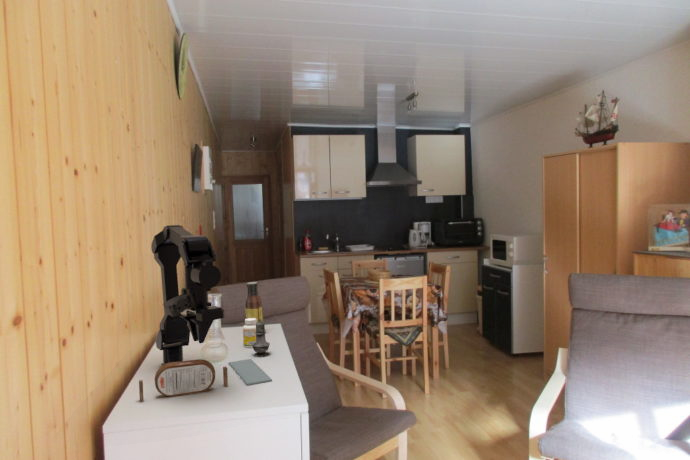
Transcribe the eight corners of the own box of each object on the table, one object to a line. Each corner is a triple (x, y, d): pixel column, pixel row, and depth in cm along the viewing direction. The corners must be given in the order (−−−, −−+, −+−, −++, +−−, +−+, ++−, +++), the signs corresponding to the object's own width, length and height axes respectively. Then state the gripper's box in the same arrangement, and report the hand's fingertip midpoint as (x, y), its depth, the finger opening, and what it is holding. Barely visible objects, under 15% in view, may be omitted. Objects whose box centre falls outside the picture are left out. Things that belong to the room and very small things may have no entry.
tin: (215, 387, 131) (214, 356, 131) (216, 391, 128) (215, 359, 128) (155, 395, 126) (154, 363, 126) (154, 400, 123) (153, 367, 123)
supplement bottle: (251, 349, 167) (250, 321, 167) (240, 347, 170) (239, 319, 170) (262, 345, 171) (261, 318, 171) (251, 343, 175) (250, 316, 174)
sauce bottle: (258, 331, 193) (256, 280, 192) (266, 333, 188) (264, 282, 188) (243, 334, 189) (241, 282, 188) (251, 336, 184) (249, 284, 183)
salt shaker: (257, 358, 156) (256, 321, 155) (248, 355, 160) (247, 318, 160) (273, 355, 160) (272, 318, 159) (264, 351, 164) (263, 315, 164)
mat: (228, 363, 151) (228, 362, 151) (250, 360, 154) (250, 358, 154) (246, 385, 132) (246, 383, 132) (272, 381, 135) (272, 379, 135)
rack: (139, 400, 123) (138, 380, 123) (226, 384, 133) (225, 366, 133) (140, 402, 122) (139, 382, 122) (227, 386, 132) (227, 367, 131)
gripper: (152, 284, 131) (154, 341, 132) (182, 291, 118) (185, 355, 118) (191, 279, 139) (193, 334, 139) (224, 285, 125) (226, 346, 126)
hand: (198, 342), depth 130 cm, fingers open, 3 cm apart
